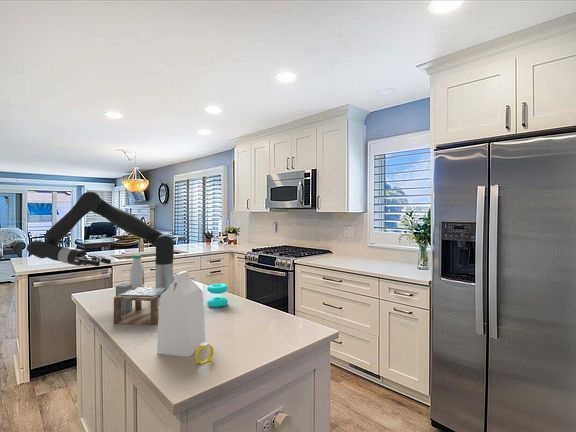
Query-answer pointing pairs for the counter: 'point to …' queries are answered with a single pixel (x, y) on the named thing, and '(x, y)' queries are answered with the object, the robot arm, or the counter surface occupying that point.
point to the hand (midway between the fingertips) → (105, 262)
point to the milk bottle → (137, 272)
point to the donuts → (217, 300)
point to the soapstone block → (125, 304)
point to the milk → (181, 317)
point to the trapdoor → (143, 292)
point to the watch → (202, 345)
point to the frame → (137, 311)
